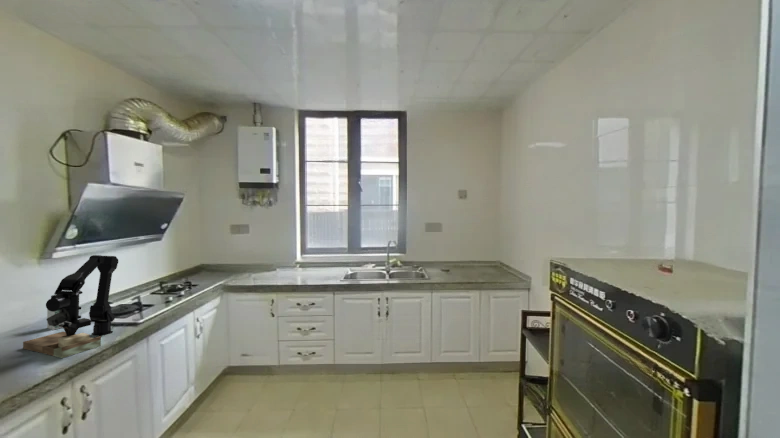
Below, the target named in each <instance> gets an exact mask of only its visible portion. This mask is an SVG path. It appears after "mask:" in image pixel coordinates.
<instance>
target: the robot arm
mask: <svg viewBox="0 0 780 438" xmlns="http://www.w3.org/2000/svg"><path fill="white" fill-rule="evenodd" d="M118 264H119V259H118V258H117V256H115V255H101V254H100V255H99V254H98V255H97V254H91V255H90V257H89V259H87V261H85V263H83V264H82V265H81V266H80V267H79V268H78V269H77V270H76V271H75V272H73V273H70V274H68V275H66V276H65V277H63V278H62V279H61V280H60V282H59V284H58V285H57V287H56V290H55V291H54V294H53V295H50V298H49V299H48V300H47V301H46V303H45V308H46V310H47V309H48V310H49V311H52V312H54V311H57V310H59V313H57V314H54V315H53V316H51V317H49V318H47V317H46V323H47V322H48V324H49V326H50V325H51V326H54V327H55V326H58V325H59V324H60V325H59V326H60V327H62V328H61V329H63V331H64V332H65V333H66V335H67V336H71V335H75V334H77V331H78V330H79V329H81V328H84V327H89V326H91V325H92V323H93V324H94V325H93V328H92V331H93V332H92V333H91V335H95V336H98V337H99V336H101V337H102V336H105V335H108V334H111V333H113V332H114V331H113V330H112V322H114V321H115V318H116V315H114V313H113V312H112V306H111V304H110V303H109V297H110V290H111V285H112V284H111V283H112V277H113V273H114V272H115V271H116V269H118ZM95 269H97V270H98V271H99V279H98V287H97V294H96V300H95V302H94V303H93V305H90V306H89V313H88V317H89V318H86V317H83V318H82V316H81V315H80V312H79V311H80V310H82V306H80V295H81V294H83V291H82V290H81V289H82V288H83V287H84V285H85V283H86V279H87V278H88V276H90V274H92V273H93V272H94V271H95Z"/></svg>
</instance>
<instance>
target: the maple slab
mask: <svg viewBox="0 0 780 438" xmlns="http://www.w3.org/2000/svg"><path fill="white" fill-rule="evenodd" d="M89 337H90V334H89V333H85V332H81V333H75V335H71V336H67V337H63V338H59V347H65V346H68V345H72V344H75V343H79V342H82V341H85V340H89Z"/></svg>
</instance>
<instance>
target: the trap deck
mask: <svg viewBox="0 0 780 438" xmlns="http://www.w3.org/2000/svg"><path fill="white" fill-rule="evenodd" d="M63 337H67V335H66V333H65V331H61V332H55V333H52V334H48V335H45V336H41V337H40V336H39V337H36V338H31V339H28V340H25V341H23V342H22V349H24V350H28V351H31V352H36V353H40V354H45V355H49V356H52V357H55V358H61V359H64V358H66V357H67V358H68V357H70V356H73V355H76V354H77V355H78V354H79V353H83V352H86V351H90V350H92V349H95V348H99V347H101V345H102V343H101V342H102V341H101V340H102V336H99V335H98V336H97V337H90V336H89V340H85V341H82V342H79V343H75V344H72V345H68V346H65V347H59V338H63Z"/></svg>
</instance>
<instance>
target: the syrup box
mask: <svg viewBox="0 0 780 438" xmlns="http://www.w3.org/2000/svg"><path fill="white" fill-rule="evenodd" d="M57 313H59V310H57V311H54V312H52V311H49V310H48V309H47V308H46V315H47V316H46V319H47V318H49V317H51V316H53V315H54V314H57ZM46 323H47V324H46V328H47V329H49V330H52V331H55V330H60V329H63V328H62V327H60V326H59V325H60V324H59V325H58V326H55V327H54V326H51V325H50V326H49V324H48V322H47V321H46Z"/></svg>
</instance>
